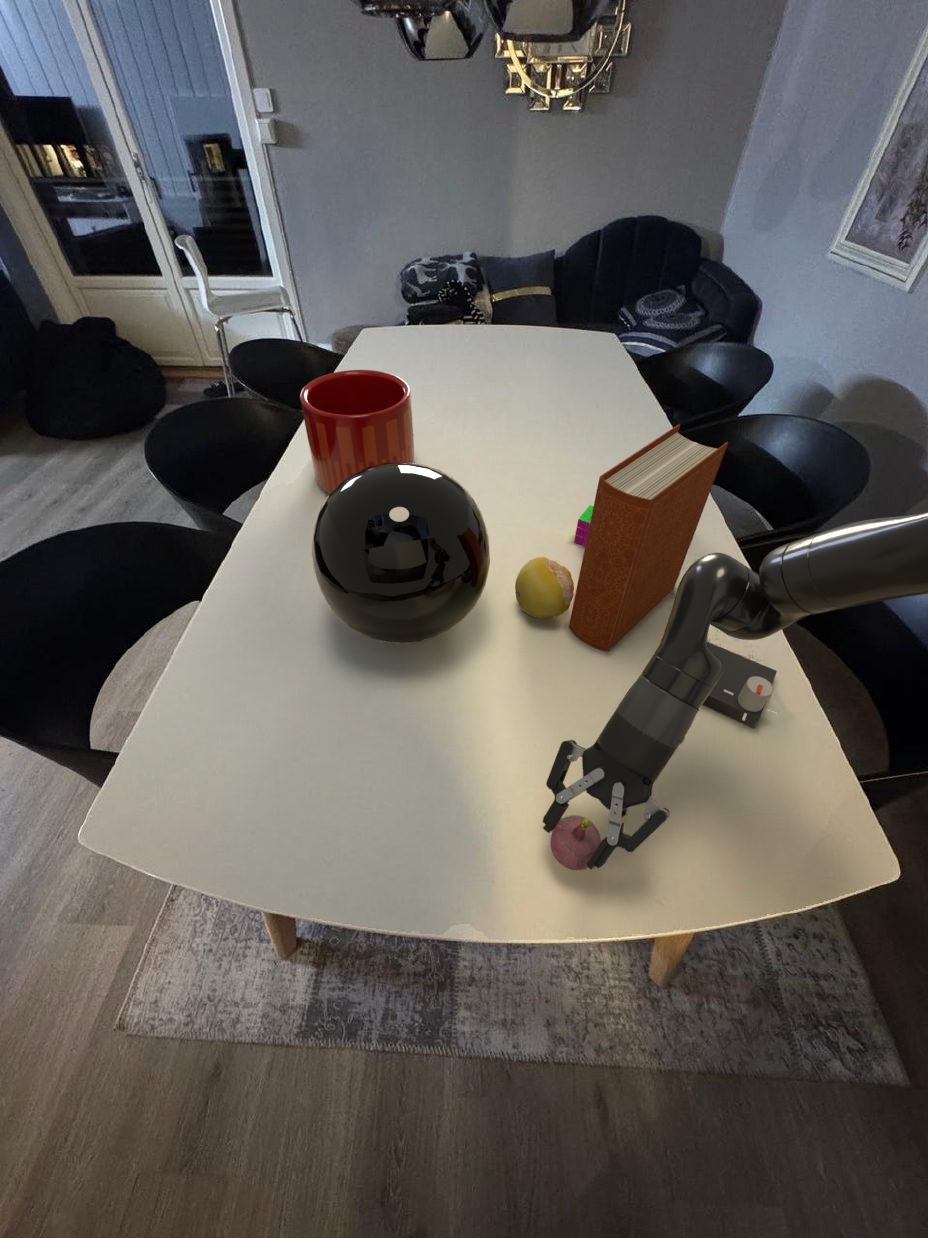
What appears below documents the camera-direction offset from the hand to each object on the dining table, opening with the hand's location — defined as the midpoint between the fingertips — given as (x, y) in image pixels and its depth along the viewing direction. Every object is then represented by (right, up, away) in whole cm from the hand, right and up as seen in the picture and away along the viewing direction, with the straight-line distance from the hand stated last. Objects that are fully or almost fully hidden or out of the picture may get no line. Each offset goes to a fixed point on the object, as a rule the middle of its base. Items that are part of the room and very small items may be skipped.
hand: (569, 847), depth 65 cm
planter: (-35, +60, +68) cm, 97 cm away
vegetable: (+1, -3, +5) cm, 6 cm away
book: (+16, +28, +38) cm, 50 cm away
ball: (-22, +27, +36) cm, 50 cm away
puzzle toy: (+14, +43, +52) cm, 69 cm away
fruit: (+2, +28, +37) cm, 47 cm away
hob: (+28, +15, +25) cm, 41 cm away
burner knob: (+31, +14, +20) cm, 39 cm away
